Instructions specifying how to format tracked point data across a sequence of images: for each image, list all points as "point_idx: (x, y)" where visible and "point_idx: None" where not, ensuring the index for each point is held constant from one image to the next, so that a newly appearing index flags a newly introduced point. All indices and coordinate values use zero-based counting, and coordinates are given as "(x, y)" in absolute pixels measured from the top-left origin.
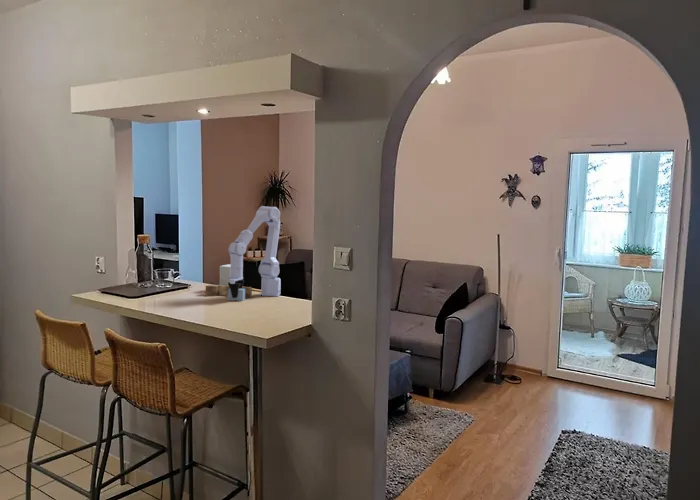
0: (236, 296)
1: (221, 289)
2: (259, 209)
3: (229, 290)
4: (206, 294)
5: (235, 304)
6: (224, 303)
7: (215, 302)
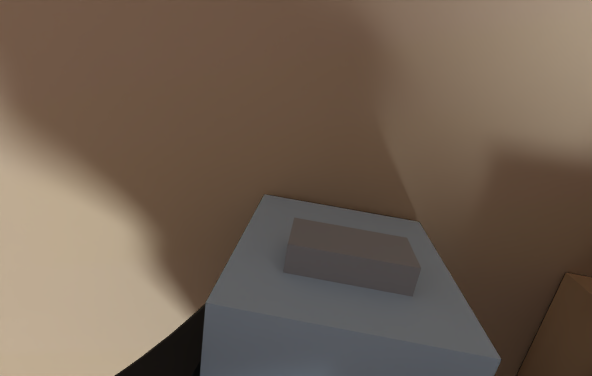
0: None
1: None
2: None
3: (209, 321)
4: None
5: (23, 306)
6: (32, 168)
7: (56, 11)
